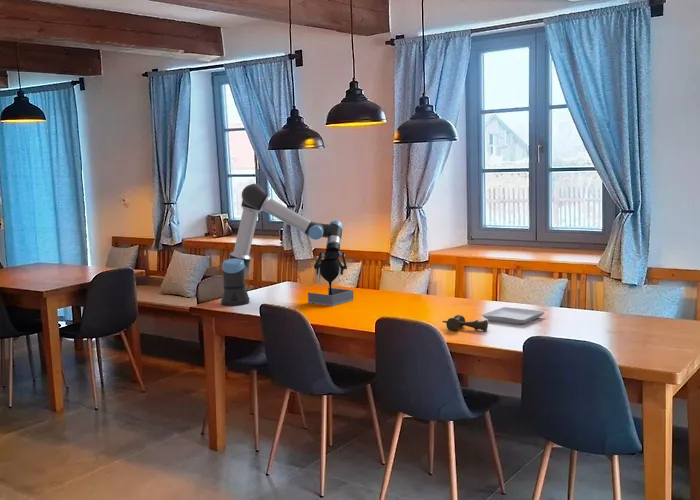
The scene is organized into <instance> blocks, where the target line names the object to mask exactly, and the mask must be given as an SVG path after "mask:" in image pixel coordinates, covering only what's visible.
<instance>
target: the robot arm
mask: <svg viewBox="0 0 700 500" xmlns="http://www.w3.org/2000/svg"><path fill="white" fill-rule="evenodd" d="M241 199H242V200H241V204H240V206H241V208H242V212H241V219H240V223H239V226H238V230H237V235H236V240H235V244H234V248H233V251H232V252H230V254H229V258H228V259H225V260H224V261H223V262H222V265H221V270H222V283H223V284H222V285H223V292H222V296H221V300H220V305H222V306H226V307H228V306H229V307H230V306H232V307H233V306H244V305H247V304H249V303H250V297H249V294H248V292H247V288H246V277H247V276H248V274H249V272H250V263H251V260H252V257H251V255H250V252H251V247H252V242H253V240H254V236H255V235H254V234H255V230H256V227H257V221H258V217H259V213H261V212H262V211H263V212H266V213H268V214H269V215H271V216H272V217H274V218H276V219H277V220H279V221H281V222H283V223H285V224H287V225H289V226H290V227H292V228H294V229H296V230H298V231H299V232H301V233H303V234H304V235H306V236H308V237H310V239H311V240H314V241H315V240H316V241H317V240H319V239H322V238H327V239H326V248H325V252H324V253H322V252H319V253H318V257H317V260H316V262H315V263H314V264H313V268H314V270H315V271H316V272H315V273H316V275H317V281H318V282H320V281H321V277H322V276H321V273H320V262H321V260H322V259H337V260H338V263H339V274H338V276H337V278H338V279H337V280H338V281H339V282H340V281H341V279H342V278H341V277H342V276H343V275H344V270H348V266H347V262H346V258H345V257H346V254H345V252H343V251H342V252H340V251H341V243H342V237H343V235H342V234H343V227H344V226H343V223H342V222H341V221H339V220H332V221H330V222H329V223H321V222H315V221H311V220H310V219H308V218H307V217H305V216H303V215H301V214H300V213H298V212H296V211H294V210H293V209H290V208H288V207H287V206H285V205H283V204H281V203H280V202H278V201H276V200H275V199H272V198H271V197H270V194H267V191H266V189H265V188H264V186H262V185H261V184H260V183H259V184H258V183H251V184H249V185H246V186H245V187H244V188H243V190H242V192H241ZM339 257H340V258H341V260H342V262H343V264H342V263H341V260H340V259H339Z"/></svg>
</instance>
